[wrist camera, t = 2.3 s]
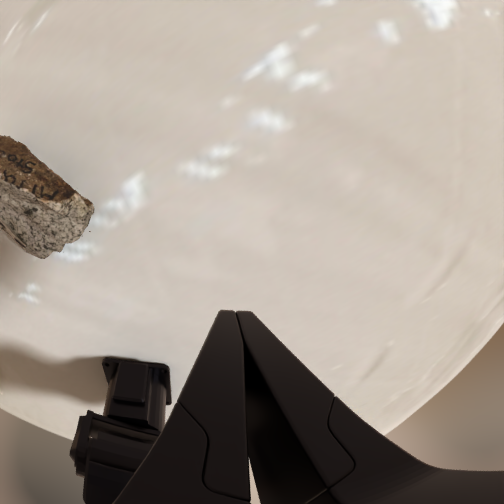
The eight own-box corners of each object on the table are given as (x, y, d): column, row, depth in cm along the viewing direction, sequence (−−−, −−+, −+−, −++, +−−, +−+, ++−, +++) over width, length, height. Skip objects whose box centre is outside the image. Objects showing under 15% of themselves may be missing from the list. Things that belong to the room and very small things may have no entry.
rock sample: (-40, 257, 12) (-68, 241, 7) (-15, 163, 14) (-18, 105, 8) (70, 283, 20) (100, 282, 14) (87, 194, 22) (125, 155, 16)
